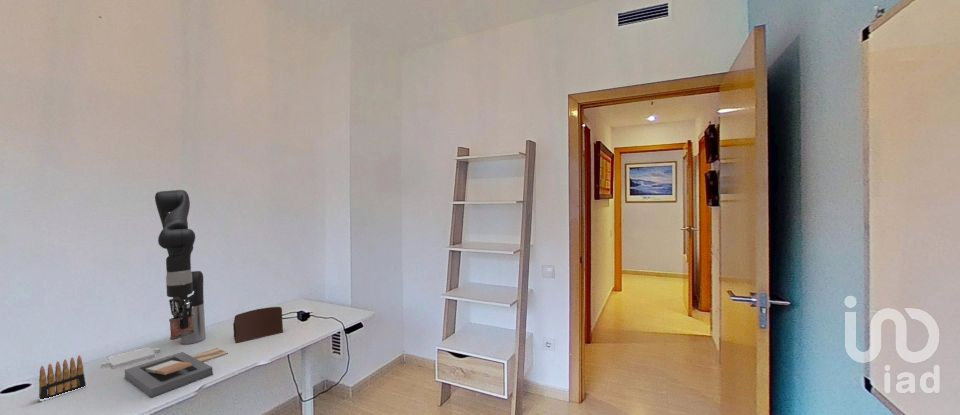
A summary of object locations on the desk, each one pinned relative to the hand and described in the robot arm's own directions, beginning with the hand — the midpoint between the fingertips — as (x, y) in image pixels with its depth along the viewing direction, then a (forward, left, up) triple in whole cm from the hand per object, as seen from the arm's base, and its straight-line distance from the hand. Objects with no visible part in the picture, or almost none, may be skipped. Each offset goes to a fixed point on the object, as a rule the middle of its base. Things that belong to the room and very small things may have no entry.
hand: (181, 327), depth 136 cm
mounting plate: (-41, -4, -20) cm, 46 cm away
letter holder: (-20, +37, -20) cm, 46 cm away
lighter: (0, 0, -4) cm, 4 cm away
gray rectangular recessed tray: (-7, -2, -19) cm, 21 cm away
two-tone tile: (-7, -2, -16) cm, 18 cm away
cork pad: (-14, +14, -19) cm, 28 cm away
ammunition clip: (-25, -26, -20) cm, 42 cm away
